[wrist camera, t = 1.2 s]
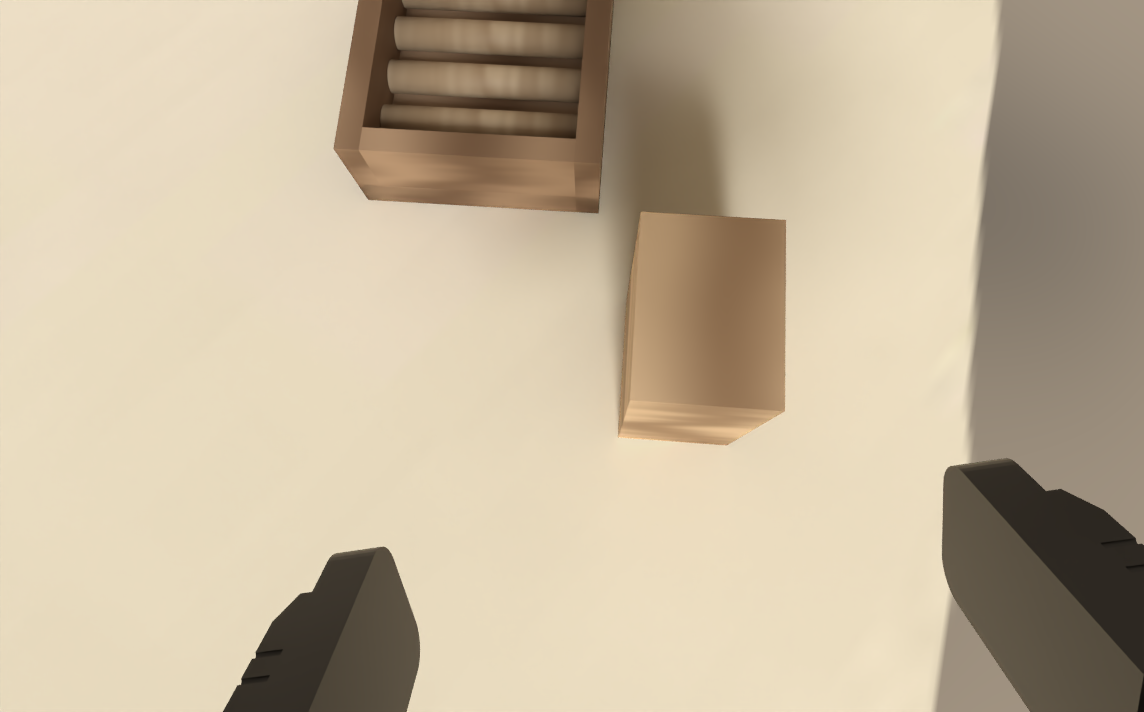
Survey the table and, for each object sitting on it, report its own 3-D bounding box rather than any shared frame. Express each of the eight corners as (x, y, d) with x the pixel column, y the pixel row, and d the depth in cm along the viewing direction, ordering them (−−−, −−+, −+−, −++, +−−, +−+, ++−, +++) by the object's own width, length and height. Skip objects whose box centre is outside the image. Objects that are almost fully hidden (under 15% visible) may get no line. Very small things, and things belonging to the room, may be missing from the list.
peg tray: (368, 199, 32) (333, 148, 28) (402, -24, 35) (375, -102, 31) (598, 213, 32) (599, 163, 27) (614, -14, 35) (618, -92, 30)
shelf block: (618, 437, 30) (630, 400, 21) (626, 300, 31) (640, 211, 22) (726, 445, 29) (784, 411, 21) (730, 306, 31) (785, 220, 22)
